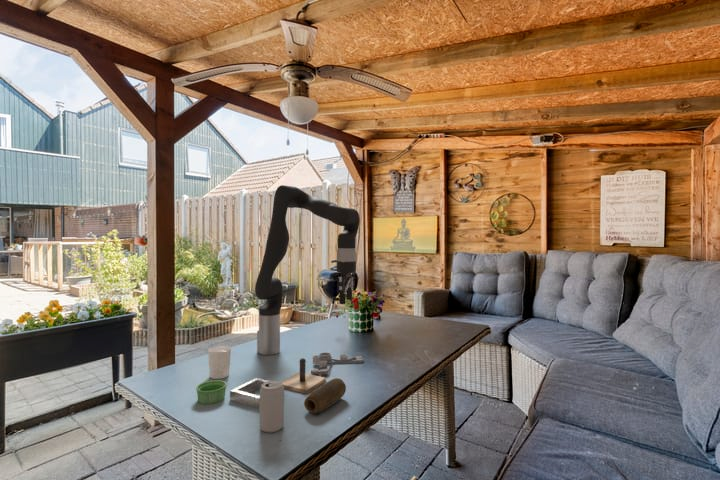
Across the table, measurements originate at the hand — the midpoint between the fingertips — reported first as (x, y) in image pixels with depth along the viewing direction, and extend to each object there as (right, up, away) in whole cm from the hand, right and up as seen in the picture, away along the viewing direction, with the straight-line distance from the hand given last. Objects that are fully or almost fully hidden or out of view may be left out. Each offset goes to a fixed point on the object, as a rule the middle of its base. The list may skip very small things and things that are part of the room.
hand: (345, 301), depth 142 cm
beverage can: (-19, -28, -41) cm, 53 cm away
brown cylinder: (-5, -28, -28) cm, 40 cm away
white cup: (-47, -27, -4) cm, 54 cm away
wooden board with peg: (-15, -27, -12) cm, 33 cm away
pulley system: (-6, -28, +8) cm, 29 cm away
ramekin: (-42, -27, -24) cm, 56 cm away
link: (-28, -27, -22) cm, 45 cm away
